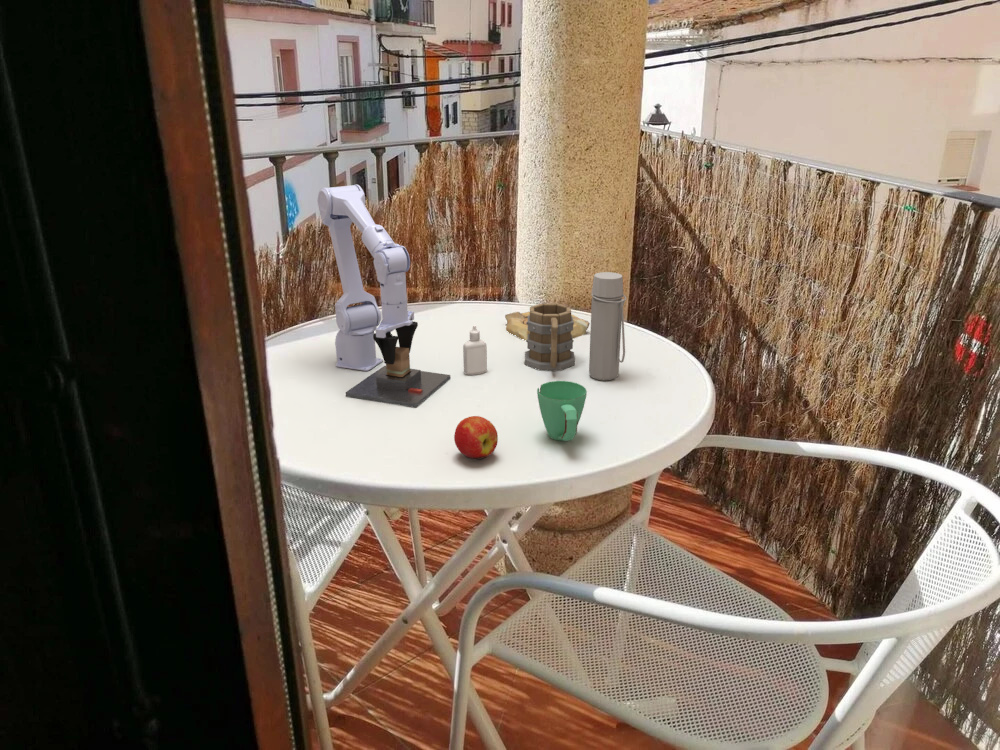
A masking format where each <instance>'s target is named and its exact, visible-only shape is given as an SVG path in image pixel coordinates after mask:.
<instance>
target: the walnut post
mask: <svg viewBox="0 0 1000 750" xmlns="http://www.w3.org/2000/svg"><path fill="white" fill-rule="evenodd" d="M410 358H411V357H410V353H409V348H403V347H399V346H396V349H395V362H394V364H385V366H386V370H387V375H390V376H397V377H403V376H404V375H406V374H407V373H408V372H410V369H411V363H410V362H411V360H410Z"/></svg>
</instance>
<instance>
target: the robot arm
mask: <svg viewBox="0 0 1000 750" xmlns="http://www.w3.org/2000/svg"><path fill="white" fill-rule="evenodd" d="M365 195H366V194H365V191H364V189H363V188H362V187H361V186H360V185H359V184H353V185H351V184H350V185H343V186H341V185H340V186H334V187H333V186H332V187H321V188H320V190H319V192H318V194H317V207H318V210H319V216H320V219H321V222H322V224H323V225H324V226H326V227H328V229H329V233H330V239H331V243H332V247H333V251H334V256H335V260H336V266H337V269H338V270H337V271H338V274H339V278H340V284H341V289H342V292H343V293H342V295H341V296H340V298H338V300H337V301H336V303H335V304H334V306H335V307H334V308H335V309H334V310H335V320H336V325H337V327H338V329H339V330H338V332H337V333H336V336H335V339H334V340H335V342H334V345H335V356H336V364H335V367H337V368H344V369H350V370H355V371H356V370H357V371H365V372H368V371H370V370H371V369H373V368H376V366H378V365H379V364H381V363H382V362H383V361H384V364H385V365H386V364H394V362H395V349H396V347H397V343H398V345H399V346H398V347H403V348H409V354H410V353H411V349H412V344H413V339H414V336H415V332H416V330H417V328H418V326H419V324H418V321H414V320H415V311H413V310H412V311H411V310H408V295H407V277H406V274H407V272H408V271H410V267H411V257H410V254H409V252H408V250H407V248H406V247H405V246H404V245H400V244H399V243H395V242H394V240H393V239H392V237H391V235H390V234H389V233H388V232H387V230H386V229H385V228H384V226H383V225H381V224H376V223H375V221H374V219H373V217H372V215H371V214H370V212H369V210H368V209H367V207H366V196H365ZM352 223H353V224H354V225H355V226H356V228H358V230H359V231H360V233H362V234H361V241H362V243H363V245H364V246H365V248H367V250H368V252H369V253H370V255H371V257H372V258H373V266H374V270H375V273H376V278H377V282H379V287H380V299H381V301H380V303H381V310H380V308H379V306H378V303H377V300H376V298H375V296H374V295H372V294H371V293H369V292H367V291H365V289H364V286H363V279H362V276H361V272H360V267H359V263H358V258H357V254H356V253H357V252H356V249H355V244H354V240H353V235H352V231H351V225H352ZM360 303H361V304H360ZM354 304H356V305H354ZM349 305H351V306H349ZM394 330H395V332H396V335H393V334H392V333H391V332H393V331H394ZM376 345H377V346H378V349H379V350H380V352H381V353H380V354H381V356H382V358H379V357H378V358H377V352H376V351H377V350H376Z"/></svg>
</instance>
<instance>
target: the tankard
mask: <svg viewBox="0 0 1000 750" xmlns="http://www.w3.org/2000/svg"><path fill="white" fill-rule="evenodd" d="M529 312H530V315H529V316H528V322H526V324H527V325H528V331H530V334H528V335H527V340H526V341H525V342H526V343H527V349H528V350H526V351H525V352H524V365H525V366H527V365H528V366H527V367H530V368H532V367H533V369H535V368H536V370H538V369H539V371H562V369H563V370H565V369H568V368H571V367H573V366H575V365H576V358H575V356H576V355H575V352H574V351H572V350H573V348H574V346H573V343H575V342H574V338H572V334H571V331H573V324H574V322H573V317H572V316H571V314H572V308H571V307H570V306H569V305H564V304H561V303H557V302H556V303H546V302H545V303H538V304H535V305H532V306H530V307H529Z"/></svg>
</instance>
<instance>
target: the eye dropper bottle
mask: <svg viewBox="0 0 1000 750" xmlns="http://www.w3.org/2000/svg"><path fill="white" fill-rule="evenodd" d="M480 338H481V334H480V330H478V329H477V325H472V330H470V331H469V340H468V341H467V340H466V341H465V342H464V343H463V346H462V349H463V350H462V351H463V352H462V356H463V359H462V360H463V373H464V374H466V375H467V376H477V374H478V375H481V374H485V373H486V372H487V371H488V357H487V356H488V355H487V352H488V350H487V348H488V347H487V343H486V342H485V340H483V339H480Z"/></svg>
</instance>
